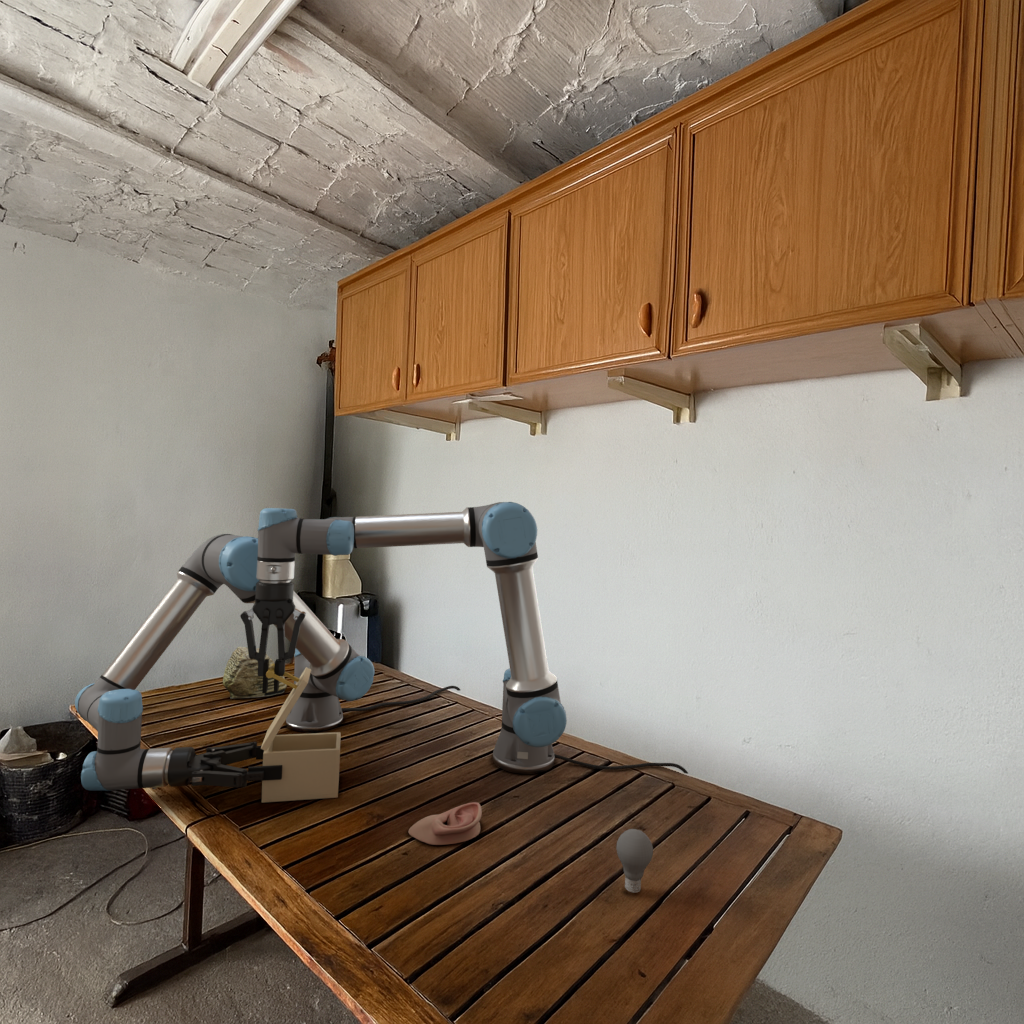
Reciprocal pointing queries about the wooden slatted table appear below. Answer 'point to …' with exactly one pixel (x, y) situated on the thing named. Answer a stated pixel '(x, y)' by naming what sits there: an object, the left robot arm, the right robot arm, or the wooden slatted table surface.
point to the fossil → (247, 676)
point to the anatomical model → (449, 825)
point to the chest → (303, 767)
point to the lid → (288, 703)
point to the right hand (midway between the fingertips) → (270, 690)
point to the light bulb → (634, 857)
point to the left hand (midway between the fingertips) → (284, 761)
